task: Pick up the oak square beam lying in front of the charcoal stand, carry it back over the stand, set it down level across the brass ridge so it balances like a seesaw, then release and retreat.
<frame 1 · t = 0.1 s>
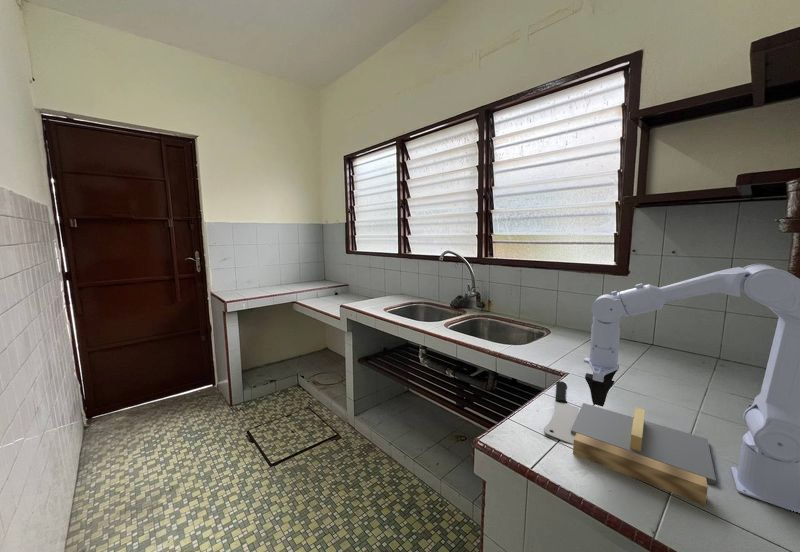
hand: (600, 397, 77), 10 cm above the worktop, fingers open, 7 cm apart
oak beam: (632, 473, 66), on the worktop
kitchen cleaver: (567, 412, 90), on the worktop
ridge stand: (636, 438, 77), on the worktop
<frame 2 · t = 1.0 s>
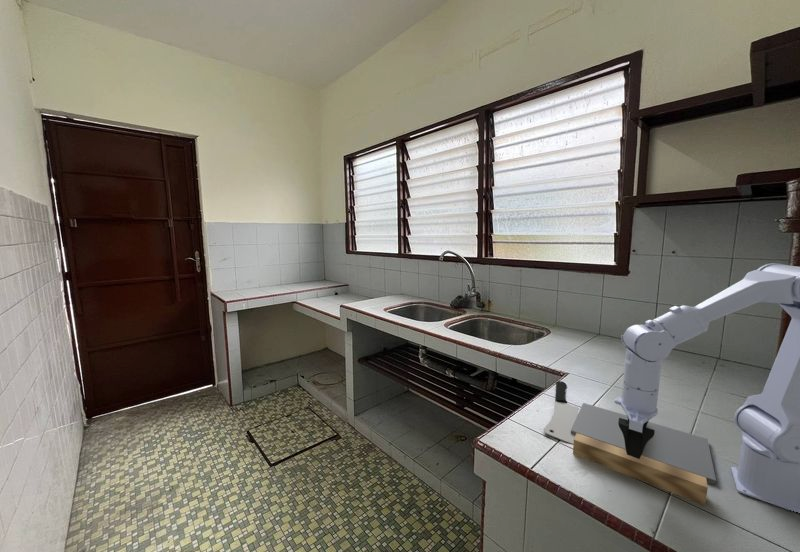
hand: (634, 445, 65), 6 cm above the worktop, fingers open, 7 cm apart
nothing on the worktop moved.
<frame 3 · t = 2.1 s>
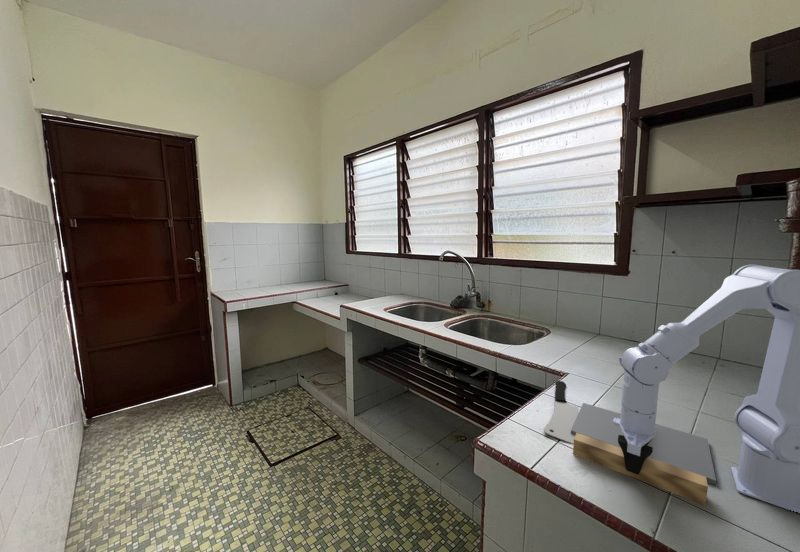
hand: (633, 466, 66), 1 cm above the worktop, fingers closed on oak beam, 3 cm apart
oak beam: (632, 473, 66), on the worktop, touching gripper
everything else where it was.
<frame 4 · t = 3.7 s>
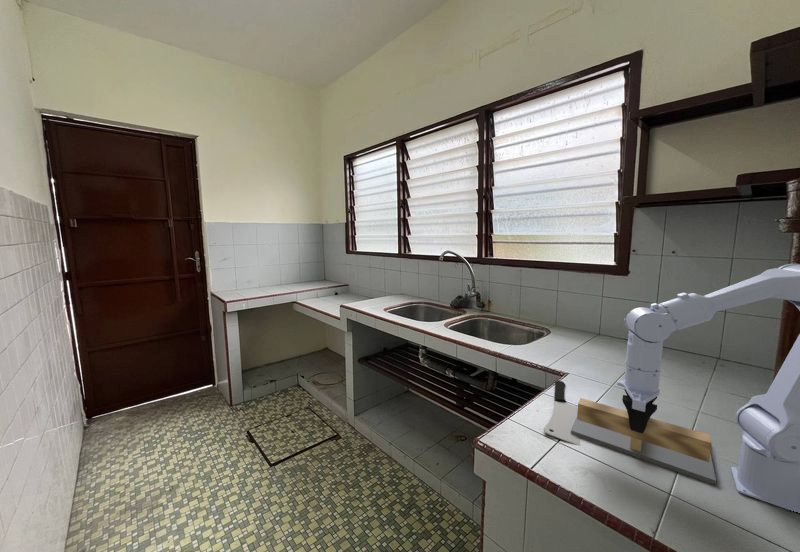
hand: (637, 426, 67), 9 cm above the worktop, fingers closed on oak beam, 3 cm apart
oak beam: (636, 434, 67), point 7 cm above the worktop, touching gripper
everything else where it was.
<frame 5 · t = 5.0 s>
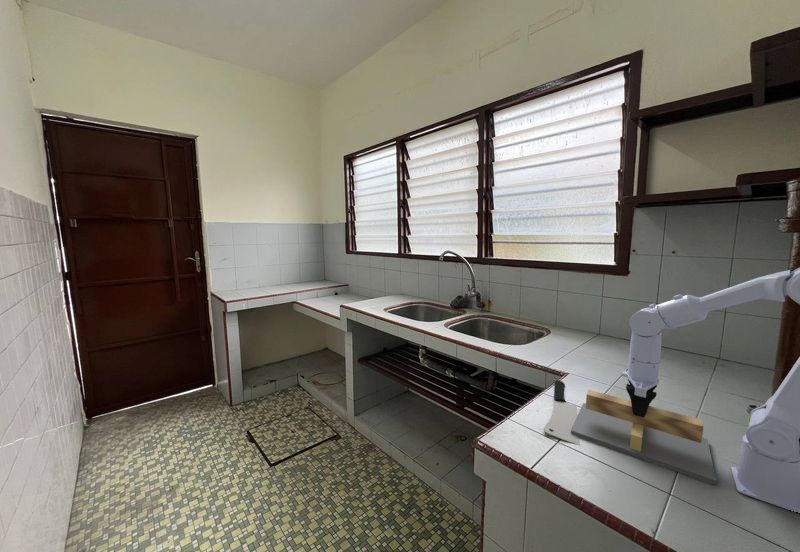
hand: (639, 412, 76), 7 cm above the worktop, fingers closed on oak beam, 3 cm apart
oak beam: (638, 421, 76), point 5 cm above the worktop, touching gripper, ridge stand
everything else where it was.
when the fingers open (7 cm above the worktop, at t = 5.5 s): oak beam stays where it is, resting on ridge stand.
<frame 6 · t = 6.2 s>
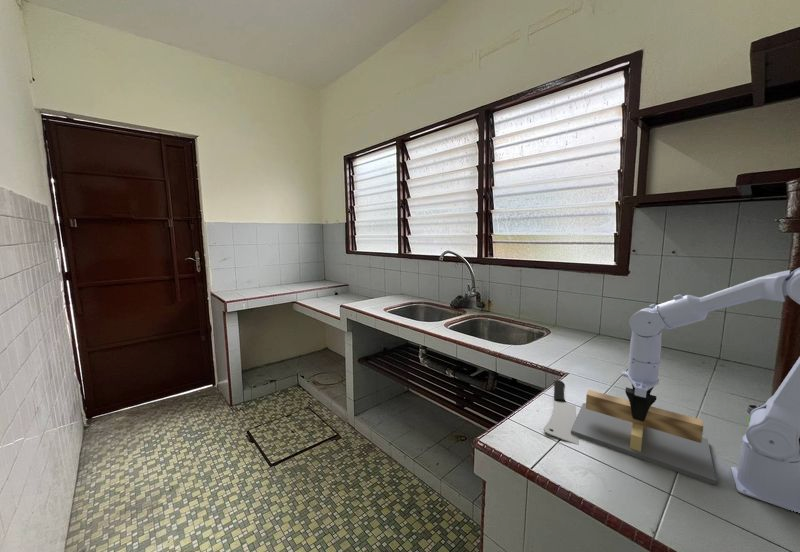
hand: (639, 412, 76), 7 cm above the worktop, fingers open, 7 cm apart
oak beam: (638, 421, 76), point 4 cm above the worktop, touching ridge stand
everything else where it was.
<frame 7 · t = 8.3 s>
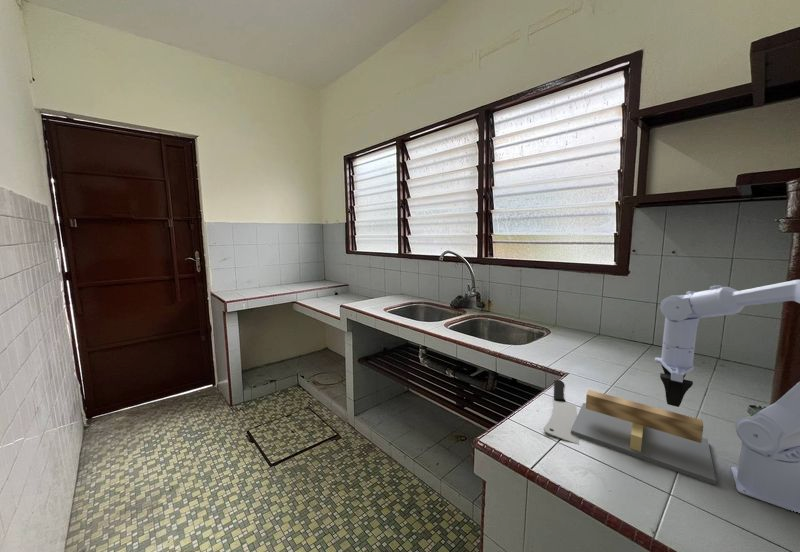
hand: (672, 398, 76), 10 cm above the worktop, fingers open, 7 cm apart
nothing on the worktop moved.
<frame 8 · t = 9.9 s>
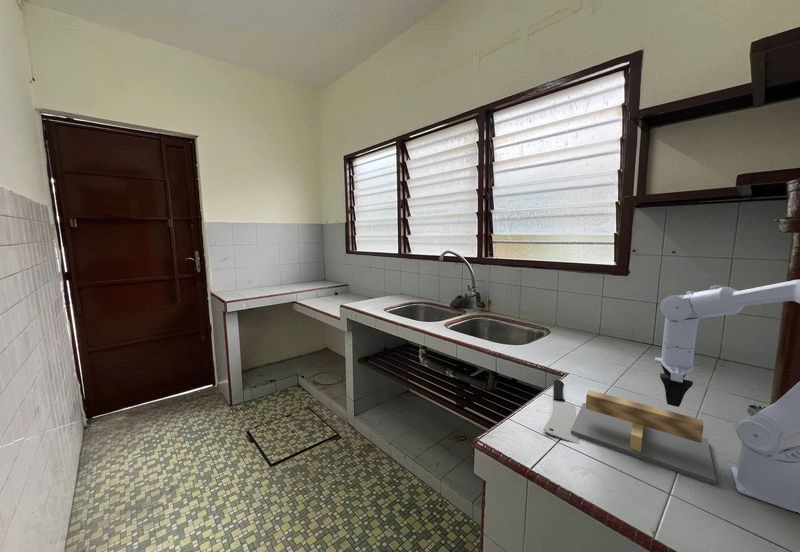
hand: (672, 398, 76), 10 cm above the worktop, fingers open, 7 cm apart
nothing on the worktop moved.
at the end: oak beam inside the target area on the ridge stand (0.0 cm from its centre), point 4.5 cm above the ridge stand's base; oak beam tilted 0°; the gripper is holding nothing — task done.
